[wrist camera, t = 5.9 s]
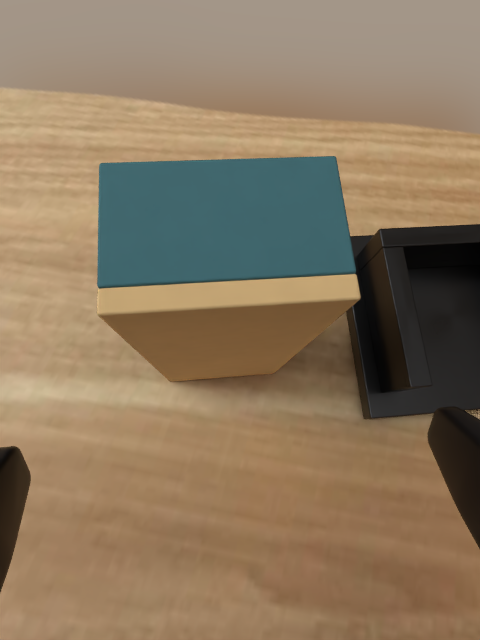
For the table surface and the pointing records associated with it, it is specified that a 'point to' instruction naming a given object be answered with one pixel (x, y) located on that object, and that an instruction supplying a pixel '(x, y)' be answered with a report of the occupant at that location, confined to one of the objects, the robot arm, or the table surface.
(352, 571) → the table surface
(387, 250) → the black square holder
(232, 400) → the table surface
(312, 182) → the teal rectangular block
